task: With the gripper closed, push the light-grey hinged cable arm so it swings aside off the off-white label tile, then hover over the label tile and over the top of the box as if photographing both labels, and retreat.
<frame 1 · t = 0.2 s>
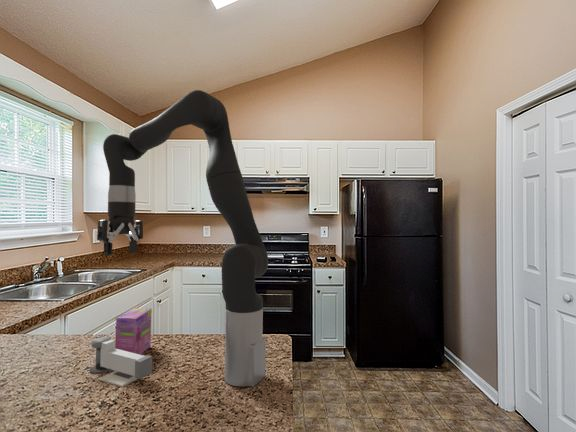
hand: (121, 254, 99), 28 cm above the countertop, fingers open, 8 cm apart
cable arm: (119, 356, 82), point 5 cm above the countertop, hinge at 0.0°
label tile: (125, 376, 81), on the countertop
box: (133, 354, 95), on the countertop
grey pedestal stand: (100, 369, 85), on the countertop
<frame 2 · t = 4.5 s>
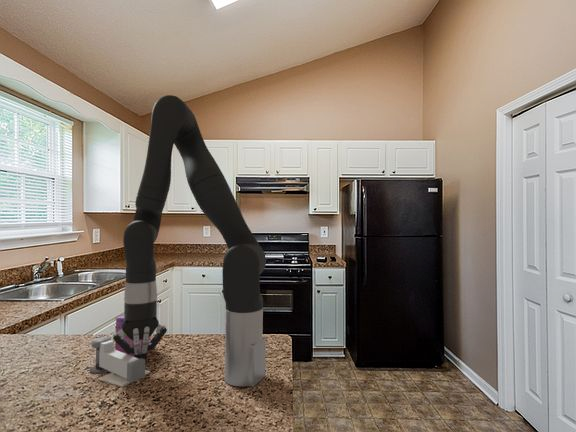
hand: (140, 367, 82), 2 cm above the countertop, fingers closed
cable arm: (116, 357, 81), point 5 cm above the countertop, hinge at 7.6°, touching gripper
everything else where it was.
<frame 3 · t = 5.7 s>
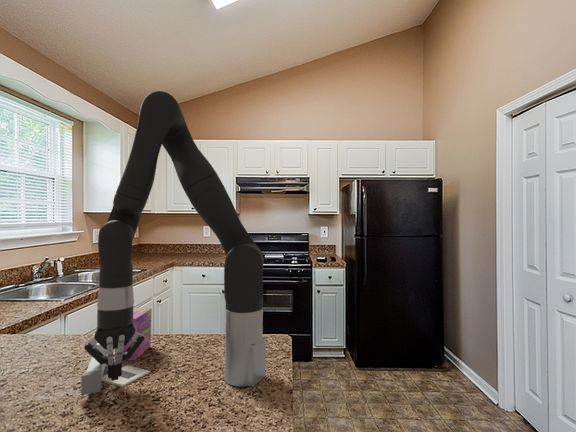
hand: (114, 378, 76), 2 cm above the countertop, fingers closed
cable arm: (97, 362, 78), point 4 cm above the countertop, hinge at 42.2°
everything else where it was.
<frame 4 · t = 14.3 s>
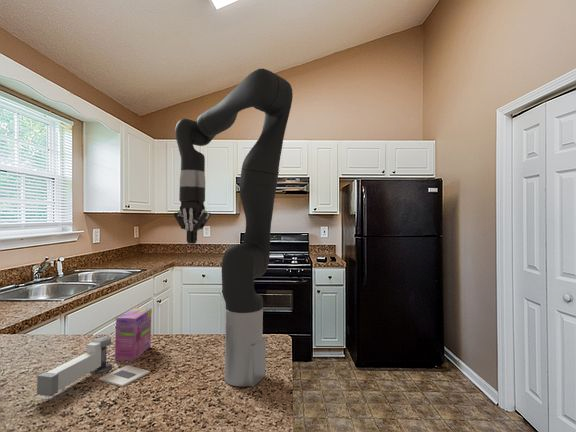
hand: (191, 243, 99), 32 cm above the countertop, fingers closed
cable arm: (79, 362, 78), point 4 cm above the countertop, hinge at 76.0°
everything else where it was.
at the end: cable arm at +76° (first picture: +0°); box moved 0.3 cm from its start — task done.
